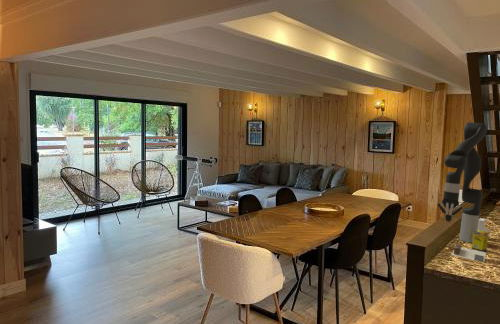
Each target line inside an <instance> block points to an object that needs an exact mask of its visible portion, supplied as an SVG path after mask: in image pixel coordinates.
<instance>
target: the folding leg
mask: <svg viewBox="0 0 500 324" xmlns="http://www.w3.org/2000/svg"><path fill="white" fill-rule="evenodd" d="M462 245H463V244H462V243H458V242H457V243H456V244H455V246H454V247H453V250H454V254H456V255H459V253H460V250H461V248H462Z"/></svg>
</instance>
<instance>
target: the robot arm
mask: <svg viewBox="0 0 500 324" xmlns="http://www.w3.org/2000/svg"><path fill="white" fill-rule="evenodd" d="M487 132H488V128H487V124H486V123H483V122H466V123H465V125H464V128H463V141H461V142H460V143H459V144H458V145H457V147H456V148H455V149H454V150H453V151H451V152H450V153H449V154H447V155H446V157H444V158H445V159H444V161H443V162H444V166H446V167H447V168H451V169H455V171H449V172H447V173H446V178H445V184H444V187H443V189H444V190H443V198H442V200H441V202H438V203H437V206H438V208H439V210H440V211H441V212H442V213H443V214H445V221H446V222H448V223H449V222H451V221H452V218H453V216H455V215H456V214H458V213H459V212H460V211H461V210H462V213H461V215H462V216H461V222H460V230H459V231H460V232H459V241H461V242H466V243H471V244H472V242H473V234H474V231H476V230H478V223H479V219H480V215H481V209H482V203H483V196H484V195H483V193H484V192H483V190H481V189H479V188H478V189H477V188H471V186H470V185H471V184H472V182H473V180H474V179H475V178H476V176H477V175H478V174H479V173H480V172H481V170H482V157H481V156H480V155H481V154H480V153H479V152H478V151H477V149H476V148H475V147H476V145H478V144H479V143H480V142H481V141H482V140H483V139H484V138H485V136H486V134H487ZM462 174H463V175H462ZM462 176H463V182H462V190H461V179H462ZM460 190H461V200H462V202H464V203H469V204H473V205H472V206H470V207H463V206H462V205H460V203H459V198H460ZM443 206H444V207H443ZM456 208H457V209H456ZM455 209H456V210H455ZM454 210H455V211H454Z"/></svg>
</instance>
